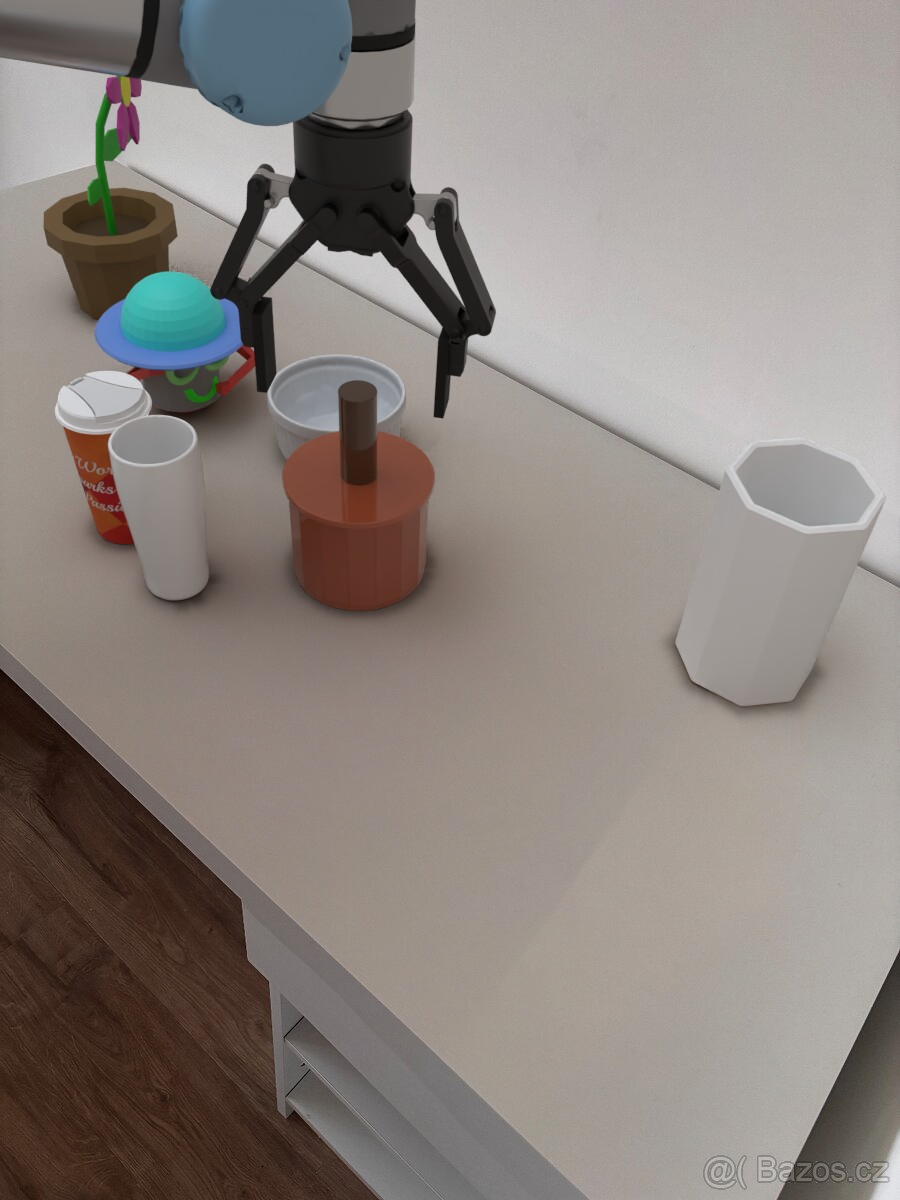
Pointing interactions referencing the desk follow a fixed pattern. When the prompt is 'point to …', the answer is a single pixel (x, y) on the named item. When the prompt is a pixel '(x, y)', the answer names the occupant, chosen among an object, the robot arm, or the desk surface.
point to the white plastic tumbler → (163, 501)
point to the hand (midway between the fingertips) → (353, 395)
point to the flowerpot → (111, 218)
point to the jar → (359, 560)
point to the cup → (775, 567)
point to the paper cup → (100, 439)
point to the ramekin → (329, 397)
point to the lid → (358, 469)
